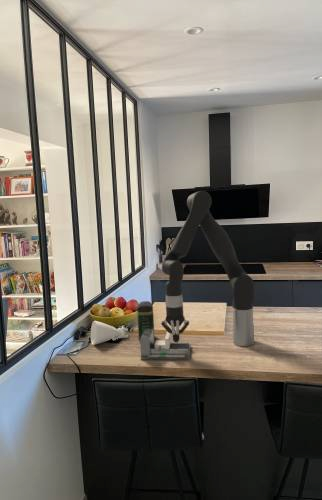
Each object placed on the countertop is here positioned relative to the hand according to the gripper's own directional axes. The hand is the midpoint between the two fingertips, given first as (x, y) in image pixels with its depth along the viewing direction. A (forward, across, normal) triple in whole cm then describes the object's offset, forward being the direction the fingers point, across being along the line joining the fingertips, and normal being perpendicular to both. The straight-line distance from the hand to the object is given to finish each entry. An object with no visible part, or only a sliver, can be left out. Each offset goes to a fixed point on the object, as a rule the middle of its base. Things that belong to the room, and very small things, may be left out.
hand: (176, 341), depth 167 cm
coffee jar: (+6, +17, -17) cm, 24 cm away
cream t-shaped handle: (+4, +6, +1) cm, 7 cm away
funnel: (+6, +34, -14) cm, 38 cm away
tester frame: (+5, +5, 0) cm, 7 cm away
